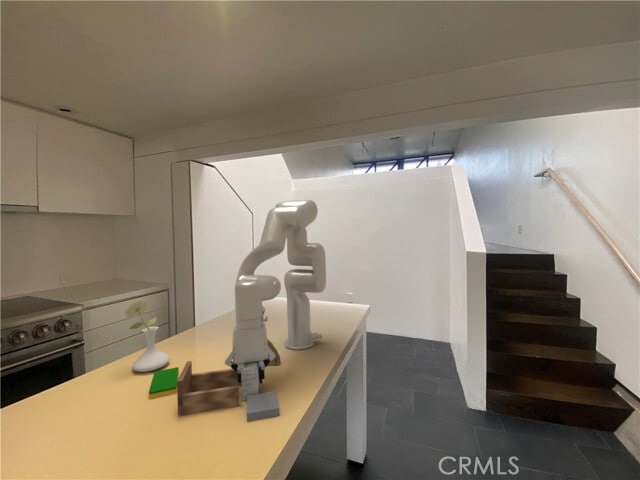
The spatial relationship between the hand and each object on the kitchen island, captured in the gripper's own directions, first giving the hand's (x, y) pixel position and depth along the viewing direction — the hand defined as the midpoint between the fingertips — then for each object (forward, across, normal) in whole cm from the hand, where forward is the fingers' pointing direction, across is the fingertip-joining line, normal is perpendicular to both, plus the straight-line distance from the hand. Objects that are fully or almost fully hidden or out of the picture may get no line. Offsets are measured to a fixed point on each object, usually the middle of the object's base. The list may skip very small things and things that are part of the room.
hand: (251, 382), depth 81 cm
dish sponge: (+3, +26, -12) cm, 29 cm away
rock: (+3, -5, -16) cm, 17 cm away
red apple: (+4, -2, -70) cm, 71 cm away
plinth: (+2, -3, +10) cm, 10 cm away
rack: (+2, +11, 0) cm, 11 cm away
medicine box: (+2, 0, +1) cm, 3 cm away
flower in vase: (+3, +35, -26) cm, 44 cm away
